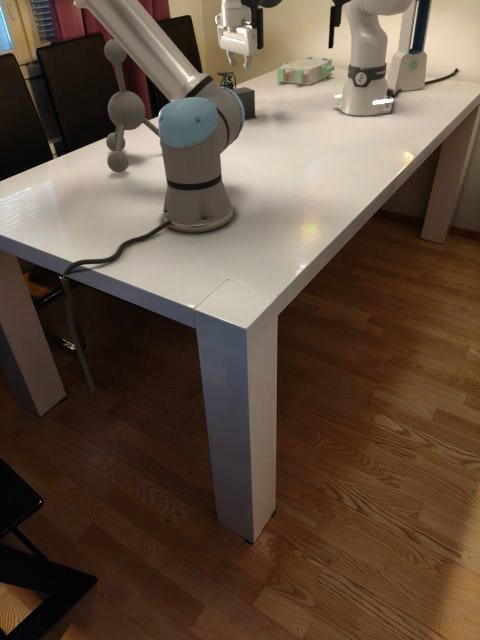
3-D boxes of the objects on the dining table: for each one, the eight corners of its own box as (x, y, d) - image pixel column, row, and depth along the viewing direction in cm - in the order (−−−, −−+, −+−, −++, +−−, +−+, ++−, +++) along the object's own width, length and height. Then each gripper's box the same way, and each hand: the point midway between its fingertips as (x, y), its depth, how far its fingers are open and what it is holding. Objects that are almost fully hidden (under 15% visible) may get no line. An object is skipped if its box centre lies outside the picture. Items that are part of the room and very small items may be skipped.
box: (185, 133, 156) (181, 104, 151) (177, 128, 161) (173, 100, 155) (255, 117, 166) (254, 90, 160) (246, 113, 170) (245, 86, 165)
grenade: (217, 103, 183) (215, 73, 177) (221, 99, 187) (219, 70, 181) (234, 103, 181) (233, 73, 175) (238, 99, 186) (236, 70, 180)
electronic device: (394, 92, 183) (407, -4, 164) (384, 88, 188) (396, -5, 170) (424, 88, 185) (440, -6, 166) (413, 84, 191) (428, -8, 172)
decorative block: (300, 55, 216) (341, 58, 206) (299, 71, 220) (340, 74, 210) (268, 66, 200) (311, 70, 190) (268, 83, 204) (310, 87, 194)
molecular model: (192, 164, 133) (178, 39, 115) (111, 178, 128) (83, 49, 109) (169, 139, 151) (154, 28, 132) (98, 152, 145) (72, 36, 127)
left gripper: (375, -102, 81) (362, 43, 94) (230, -91, 86) (236, 45, 99) (375, -105, 75) (360, 50, 88) (219, -93, 80) (227, 52, 93)
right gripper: (263, 19, 142) (265, 71, 151) (229, 14, 157) (233, 61, 165) (244, 22, 140) (247, 75, 149) (212, 17, 155) (217, 65, 163)
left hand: (295, 48), depth 94 cm, fingers open, 13 cm apart
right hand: (240, 67), depth 157 cm, fingers open, 8 cm apart
